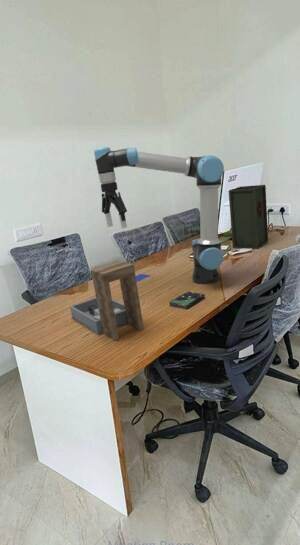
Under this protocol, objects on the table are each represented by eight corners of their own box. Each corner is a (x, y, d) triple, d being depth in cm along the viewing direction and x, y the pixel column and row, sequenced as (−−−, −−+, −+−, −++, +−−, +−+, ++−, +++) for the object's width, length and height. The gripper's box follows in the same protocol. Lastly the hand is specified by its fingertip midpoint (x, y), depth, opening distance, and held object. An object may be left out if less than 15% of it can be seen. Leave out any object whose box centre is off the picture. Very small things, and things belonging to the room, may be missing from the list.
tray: (72, 318, 177) (69, 306, 175) (105, 306, 186) (103, 294, 184) (98, 334, 155) (95, 321, 153) (134, 320, 164) (132, 307, 163)
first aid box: (258, 248, 249) (254, 188, 238) (232, 248, 260) (228, 190, 249) (268, 242, 263) (265, 184, 251) (243, 241, 274) (239, 186, 263)
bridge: (103, 333, 156) (90, 270, 148) (131, 322, 163) (120, 261, 155) (114, 340, 148) (102, 274, 140) (143, 328, 155) (133, 264, 147)
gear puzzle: (244, 235, 293) (244, 230, 292) (235, 240, 282) (235, 235, 280) (210, 235, 313) (210, 230, 312) (200, 239, 302) (200, 234, 300)
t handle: (81, 316, 175) (79, 308, 174) (103, 308, 181) (102, 300, 180) (99, 327, 159) (97, 319, 158) (123, 318, 165) (121, 310, 164)
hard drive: (135, 281, 214) (149, 275, 223) (125, 279, 220) (140, 273, 228) (135, 284, 215) (150, 277, 223) (126, 282, 220) (140, 276, 229)
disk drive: (187, 296, 185) (169, 307, 174) (187, 291, 184) (168, 301, 174) (205, 299, 178) (187, 310, 168) (205, 293, 177) (186, 304, 167)
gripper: (89, 185, 181) (98, 227, 187) (114, 182, 161) (123, 230, 167) (102, 182, 185) (111, 224, 191) (128, 179, 165) (137, 226, 171)
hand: (117, 227), depth 179 cm, fingers open, 13 cm apart
